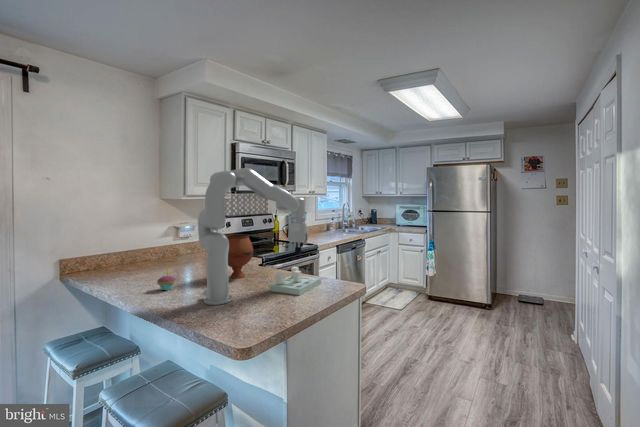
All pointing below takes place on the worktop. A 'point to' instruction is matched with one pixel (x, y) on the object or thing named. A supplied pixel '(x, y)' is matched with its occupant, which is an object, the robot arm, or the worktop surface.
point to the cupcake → (166, 281)
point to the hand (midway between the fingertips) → (298, 254)
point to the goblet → (239, 253)
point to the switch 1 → (279, 278)
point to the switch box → (295, 285)
